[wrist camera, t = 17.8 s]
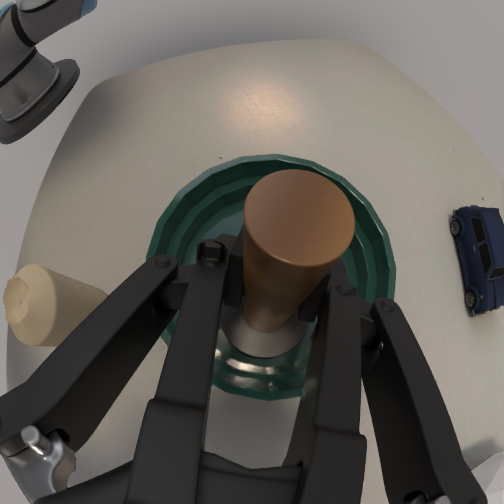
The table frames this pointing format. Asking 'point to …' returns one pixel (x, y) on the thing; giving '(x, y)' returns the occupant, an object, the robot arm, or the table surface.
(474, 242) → the toy car
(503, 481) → the polyhedron
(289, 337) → the wooden peg on stand
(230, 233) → the bowl
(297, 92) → the table surface
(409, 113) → the table surface
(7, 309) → the candle
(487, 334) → the table surface
